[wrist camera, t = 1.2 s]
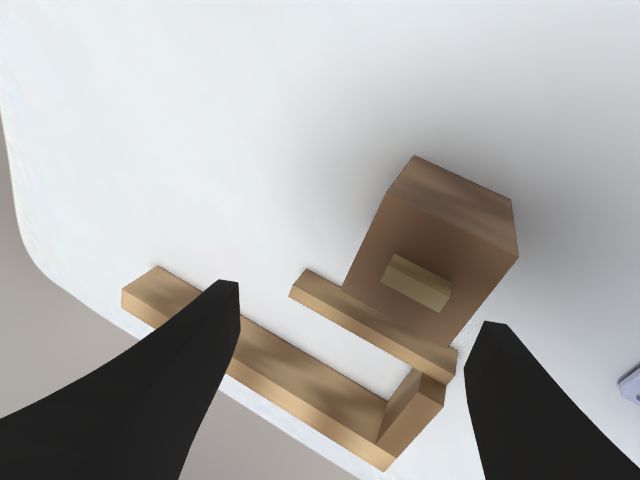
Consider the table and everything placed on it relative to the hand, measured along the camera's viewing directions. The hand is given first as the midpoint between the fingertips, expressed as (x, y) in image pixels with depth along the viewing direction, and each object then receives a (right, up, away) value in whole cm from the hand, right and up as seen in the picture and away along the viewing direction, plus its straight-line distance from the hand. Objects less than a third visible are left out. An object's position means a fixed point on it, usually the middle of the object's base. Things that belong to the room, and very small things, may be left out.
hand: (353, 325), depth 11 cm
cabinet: (+5, +4, +8) cm, 10 cm away
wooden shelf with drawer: (-4, -3, +15) cm, 16 cm away
